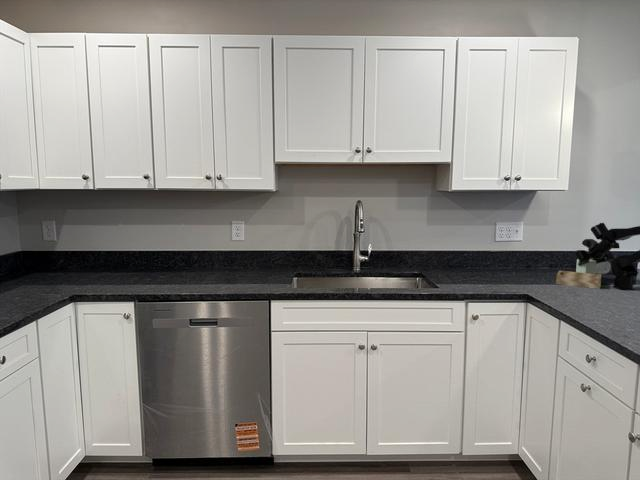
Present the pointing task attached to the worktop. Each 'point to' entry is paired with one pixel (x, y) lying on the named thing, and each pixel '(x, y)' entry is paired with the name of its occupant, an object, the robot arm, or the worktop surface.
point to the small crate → (586, 267)
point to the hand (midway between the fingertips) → (583, 265)
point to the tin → (603, 267)
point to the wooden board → (578, 279)
